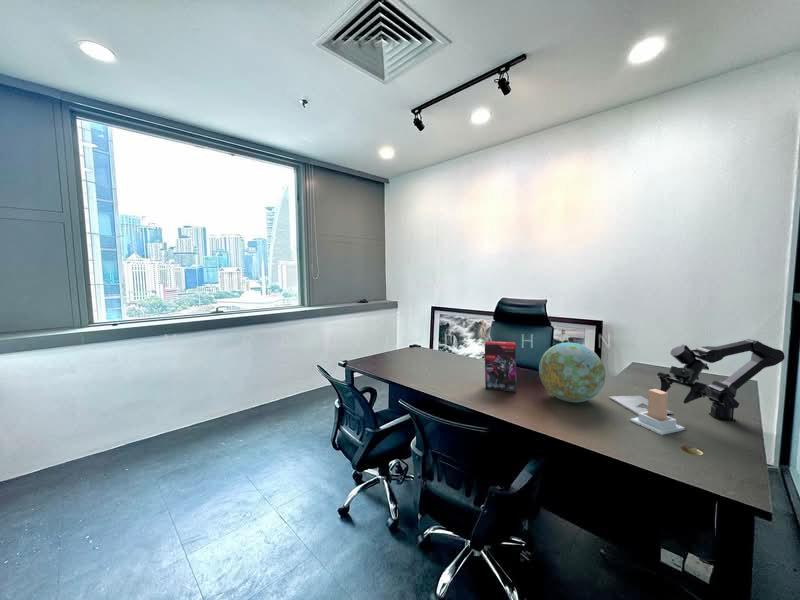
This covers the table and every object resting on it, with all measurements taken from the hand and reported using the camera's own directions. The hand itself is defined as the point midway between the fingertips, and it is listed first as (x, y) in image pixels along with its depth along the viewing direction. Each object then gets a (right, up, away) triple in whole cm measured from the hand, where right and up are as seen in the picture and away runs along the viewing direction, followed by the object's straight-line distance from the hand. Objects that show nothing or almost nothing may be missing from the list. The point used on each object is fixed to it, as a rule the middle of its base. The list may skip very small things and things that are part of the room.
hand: (672, 398), depth 139 cm
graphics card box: (-60, -9, +45) cm, 76 cm away
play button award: (-1, -10, +18) cm, 20 cm away
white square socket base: (-8, -11, -1) cm, 13 cm away
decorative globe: (-30, -9, +27) cm, 41 cm away
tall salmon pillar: (-8, -10, -2) cm, 13 cm away
